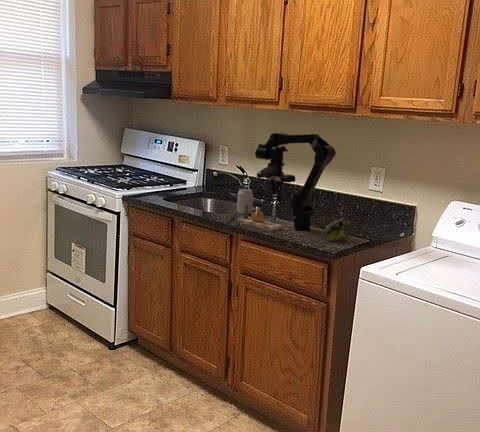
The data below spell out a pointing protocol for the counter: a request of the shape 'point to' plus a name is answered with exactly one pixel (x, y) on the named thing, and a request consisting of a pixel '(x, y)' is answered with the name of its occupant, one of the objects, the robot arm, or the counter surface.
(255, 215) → the orange slider block
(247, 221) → the bolt plate
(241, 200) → the can
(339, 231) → the green leafy plant
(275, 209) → the counter surface
